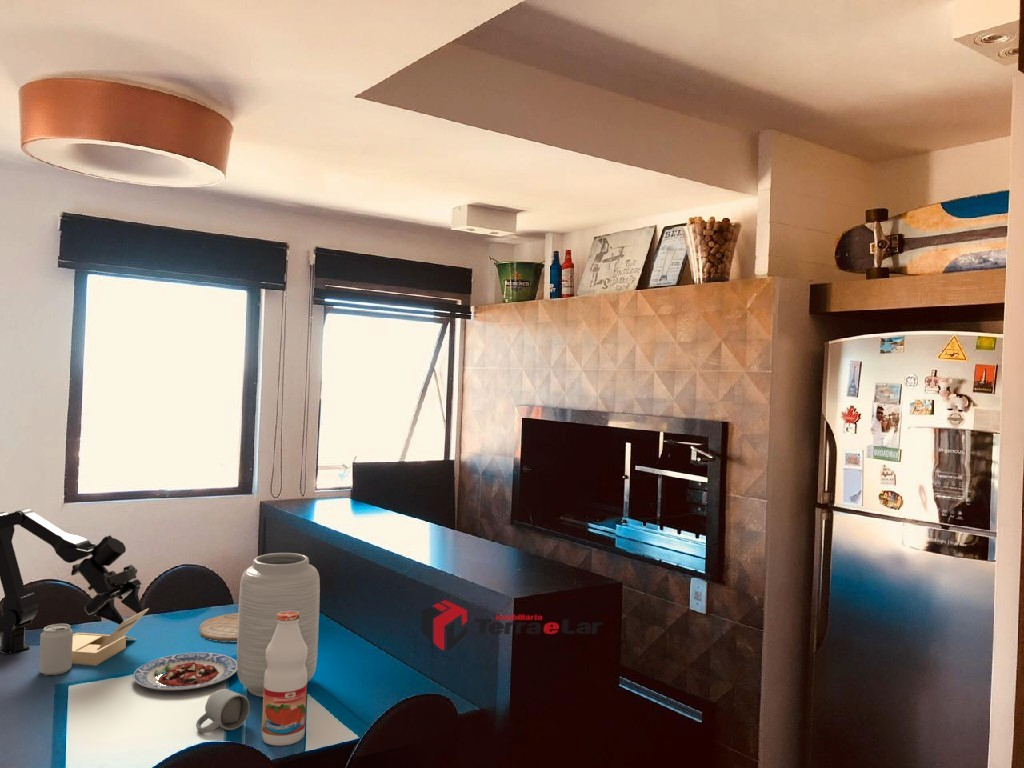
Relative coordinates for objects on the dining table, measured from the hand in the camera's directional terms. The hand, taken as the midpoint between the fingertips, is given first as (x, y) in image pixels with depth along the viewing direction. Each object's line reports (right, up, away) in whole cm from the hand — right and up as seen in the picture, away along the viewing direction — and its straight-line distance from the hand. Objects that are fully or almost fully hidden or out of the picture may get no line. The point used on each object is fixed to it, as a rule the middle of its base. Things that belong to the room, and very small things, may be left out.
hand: (132, 618), depth 217 cm
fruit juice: (+55, -14, -43) cm, 71 cm away
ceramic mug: (+39, -13, -39) cm, 57 cm away
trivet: (+21, -12, +28) cm, 37 cm away
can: (-15, -11, -11) cm, 22 cm away
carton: (-14, -10, +5) cm, 18 cm away
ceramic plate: (+20, -12, -11) cm, 26 cm away
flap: (-7, -7, +1) cm, 9 cm away
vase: (+45, -13, -15) cm, 50 cm away
